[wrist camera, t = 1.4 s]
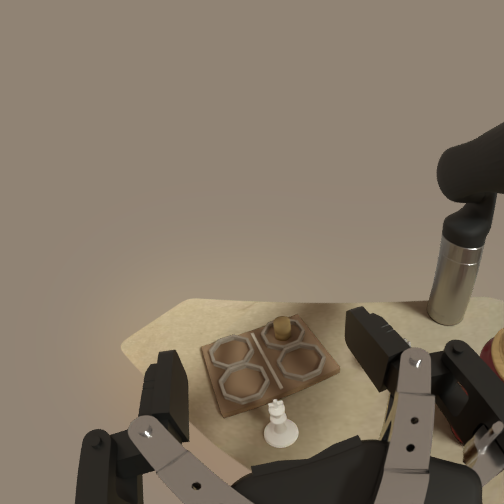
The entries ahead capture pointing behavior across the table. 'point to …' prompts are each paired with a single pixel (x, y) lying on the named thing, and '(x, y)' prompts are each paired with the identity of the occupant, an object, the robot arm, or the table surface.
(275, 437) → the chess piece
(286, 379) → the brown octagon slot tray
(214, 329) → the table surface
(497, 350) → the canister
